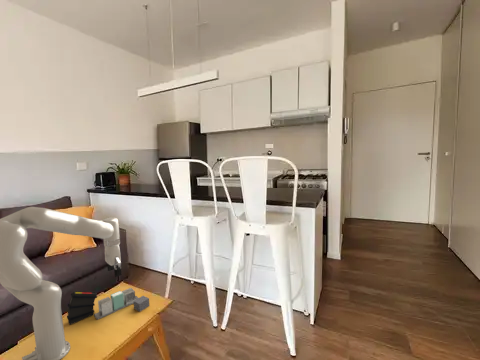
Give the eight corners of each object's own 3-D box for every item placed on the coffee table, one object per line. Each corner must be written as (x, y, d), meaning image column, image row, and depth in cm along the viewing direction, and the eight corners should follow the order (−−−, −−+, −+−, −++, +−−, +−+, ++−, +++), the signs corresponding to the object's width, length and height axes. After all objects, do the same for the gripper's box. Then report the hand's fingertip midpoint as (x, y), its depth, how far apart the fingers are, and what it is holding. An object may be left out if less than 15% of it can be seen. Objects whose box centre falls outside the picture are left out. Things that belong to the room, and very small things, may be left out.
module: (114, 310, 134) (113, 297, 133) (111, 306, 137) (110, 294, 136) (124, 305, 137) (123, 293, 137) (121, 302, 140) (120, 290, 139)
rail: (97, 320, 128) (95, 306, 127) (94, 315, 131) (92, 302, 130) (140, 300, 143) (139, 288, 142) (136, 297, 147) (135, 285, 146)
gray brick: (139, 312, 134) (139, 304, 133) (134, 309, 136) (133, 301, 136) (149, 306, 139) (149, 298, 138) (143, 303, 141) (143, 295, 141)
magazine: (59, 322, 124) (72, 290, 127) (88, 320, 134) (99, 291, 136) (61, 325, 122) (74, 293, 125) (90, 324, 131) (101, 294, 134)
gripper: (98, 239, 136) (101, 270, 138) (110, 248, 124) (113, 281, 126) (113, 236, 141) (115, 265, 143) (126, 243, 129) (128, 275, 131)
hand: (114, 272), depth 135 cm, fingers open, 9 cm apart
